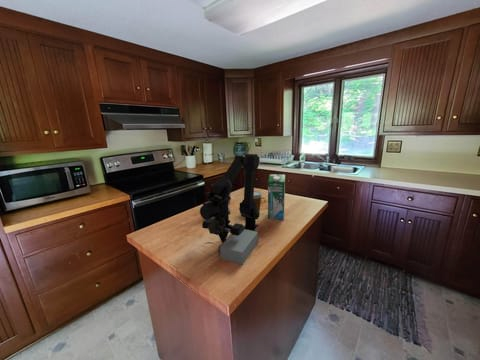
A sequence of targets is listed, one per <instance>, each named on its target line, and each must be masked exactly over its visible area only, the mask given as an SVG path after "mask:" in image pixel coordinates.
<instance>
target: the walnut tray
mask: <svg viewBox="0 0 480 360" xmlns="http://www.w3.org/2000/svg"><path fill="white" fill-rule="evenodd" d="M231 235H232V234H231V233H230V235H229V236H227V238H226V240H227V239H228V238H229V237H230V236H231ZM226 240H225V241H226ZM225 241H224V242H225ZM224 242H223V243H222V242H221V244H220V245H219V246H218V254H219V255H221V254H220V247H221V246H222V245H223V244H224Z"/></svg>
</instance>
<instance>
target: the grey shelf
mask: <svg viewBox="0 0 480 360" xmlns="http://www.w3.org/2000/svg"><path fill="white" fill-rule="evenodd" d="M230 235H231V234H230ZM230 235H229V236H230ZM229 236H228V237H229ZM228 237H227V238H228ZM227 238H226V239H227ZM258 243H259V232H258V231H256V230H254V231H252V230H247V229H244V231H243V232H242V233H241V234H240V235H238V236H236V235H231V236H230V237H229V238H228V239H227V240H226V241H225V242H224V244H223V245H222V246H221V247H220V254H219V255H220V259H221V260H224V261H227V262H231V263H234V264H239V265H242V266H243V265H244V264H245V262H246V261H247V259H248V258H249V257H250V255H251V254H252V252H253V251H254V249H255V248H256V246H257V245H258Z"/></svg>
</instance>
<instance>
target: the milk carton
mask: <svg viewBox="0 0 480 360" xmlns="http://www.w3.org/2000/svg"><path fill="white" fill-rule="evenodd" d="M285 195H286V174H280V173H279V174H276V173H274V174H272V173H271V174H269V176H268V181H267V219H268V220H281V221H284V220H285V198H286V196H285Z"/></svg>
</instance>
